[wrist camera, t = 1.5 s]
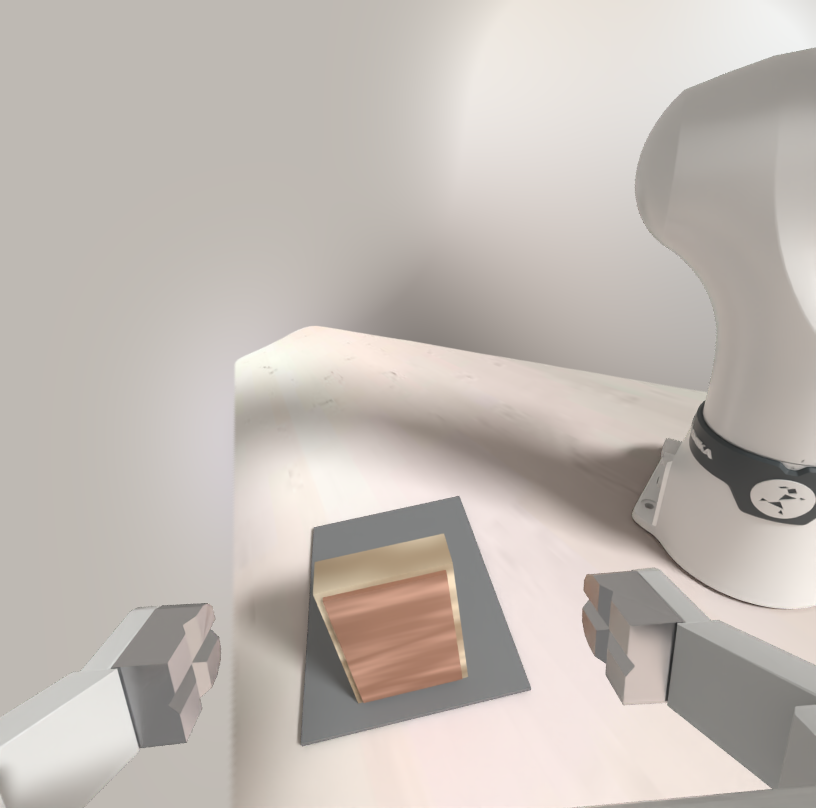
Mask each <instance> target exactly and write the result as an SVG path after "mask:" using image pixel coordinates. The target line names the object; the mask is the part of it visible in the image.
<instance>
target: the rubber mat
mask: <svg viewBox="0 0 816 808" xmlns="http://www.w3.org/2000/svg"><path fill="white" fill-rule="evenodd" d="M439 534H444V535H445V539H446V542H447V545H448V549H449V552H450V556H451V559H452V562H453V569H454V576H455V584H456V591H457V598H458V606H459V613H460V621H461V628H462V635H463V643H464V650H465V657H466V665H467V672H468V677H466V678H463V679H461V680H457V681H453V682H449V683H445V684H441V685H436V686H432V687H428V688H424V689H420V690H416V691H412V692H407V693H403V694H399V695H395V696H391V697H387V698H383V699H379V700H374V701H370V702H366V703H359V704H358V701H357V699H356V697H355V694H354V692H353V689H352V687H351V685H350V682H349V680H348V677H347V675H346V673H345V670H344V668H343V665H342V663H341V661H340V658H339V656H338V653H337V651H336V649H335V646H334V644H333V641H332V639H331V637H330V634H329V632H328V629H327V627H326V625H325V622H324V620H323V617H322V615H321V613H320V610H319V608H318V605H317V603H316V601H315V598H314V596H313V584H314V565H315V562H317V561H322V560H326V559H331V558H335V557H340V556H344V555H349V554H353V553H358V552H362V551H367V550H371V549H376V548H380V547H385V546H389V545H394V544H398V543H403V542H408V541H412V540H417V539H421V538H426V537H430V536H435V535H439ZM529 690H531V687H530V684H529V681H528V679H527V676H526V673H525V671H524V668H523V665H522V662H521V660H520V657H519V654H518V652H517V649H516V646H515V644H514V641H513V638H512V636H511V633H510V630H509V628H508V625H507V622H506V620H505V617H504V614H503V612H502V609H501V606H500V604H499V601H498V598H497V596H496V593H495V590H494V588H493V585H492V582H491V580H490V577H489V574H488V572H487V569H486V566H485V564H484V561H483V558H482V556H481V553H480V550H479V547H478V545H477V542H476V539H475V537H474V534H473V531H472V529H471V526H470V523H469V521H468V518H467V515H466V513H465V510H464V507H463V505H462V502H461V499H460V497H459V496H456V497H452V498H447V499H443V500H438V501H433V502H429V503H424V504H420V505H415V506H410V507H406V508H401V509H396V510H392V511H387V512H383V513H378V514H373V515H369V516H364V517H360V518H355V519H350V520H346V521H341V522H337V523H332V524H327V525H323V526H318V527H314V535H313V551H312V568H311V584H310V601H309V617H308V634H307V650H306V667H305V683H304V700H303V716H302V733H301V745H302V746H305V745H309V744H313V743H317V742H321V741H325V740H329V739H333V738H338V737H342V736H346V735H350V734H354V733H358V732H362V731H366V730H370V729H374V728H378V727H382V726H386V725H390V724H395V723H399V722H403V721H407V720H411V719H415V718H419V717H423V716H427V715H431V714H435V713H439V712H443V711H447V710H452V709H456V708H460V707H464V706H468V705H472V704H476V703H480V702H484V701H488V700H492V699H496V698H500V697H504V696H509V695H513V694H517V693H521V692H525V691H529Z"/></svg>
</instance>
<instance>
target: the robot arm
mask: <svg viewBox="0 0 816 808" xmlns="http://www.w3.org/2000/svg"><path fill="white" fill-rule="evenodd" d="M635 196H636V202H637V207H638V210H639V214H640V216H641V218H642V220H643V223H644V224H645V226H646V227H647V229H648V231H649V232H650V233H651V234H652V235H653V237H654V238H656V239H657V240H658V241H659V242H660V243H661V244H662V245H664V246H665V247H667V248H668V249H670V250H671V251H673V252H674V253H675V254H676V255H678V256H679V257H680V258H681V259H682V260H684V262H685V263H686V264H687V265H688V266H689V267H690V268H691V269H692V270H693V271H694V273H695V274H696V275H697V276H698V278H699V279H700V281H701V282H702V284H703V286H704V288H705V289H706V292H707V294H708V296H709V299H710V301H711V304H712V307H713V311H714V315H715V321H716V334H717V335H716V345H715V355H714V361H713V368H712V373H711V378H710V383H709V388H708V392H707V396H706V400H705V401H704V402H703V403H702V404H701V405H700V406H699V408H698V411H697V413H696V414H695V416H694V418H693V422H692V425H691V428H690V430H689V431H688V433H687V435H686V436H685V438H684V440H683V442H682V441H681V442H680V441H677V440H674V439H670V438H668V439H667V438H666V440H665V442H664V445H663V448H662V452H661V457H662V458H661V460H660V462H659V463H658V465H657V467H656V469H655V471H654V472H653V474H652V476H651V478H650V480H649V482H648V483H647V485H646V487H645V489H644V491H643V492H642V494H641V496H640V498H639V500H638V502H637V503H636V505H635V507H634V510H633V513H632V517H633V519H634V520H635V522H636V523H638V524H639V525H640V526H641V527H643V528H644V529H645V530H647V531H648V532H650V533H651V534H652V535H654V536H655V537H656V538H657V539H658V540H659V542H660V543H661V544H662V546H663V547H664V548H665V550H666V551H667V553H668V554H669V555H670V556H671V557H672V558H673V559H674V560H675V561H676V562H677V563H678V564H679V565H680V566H681V567H682V568H683V569H684V570H686V571H687V572H688V573H689V574H691V575H692V576H694V577H695V578H696V579H698V580H700V581H701V582H703V583H704V584H706V585H708V586H710V587H711V588H713V589H715V590H717V591H719V592H722V593H724V594H726V595H728V596H731V597H734V598H736V599H739V600H742V601H745V602H749V603H752V604H756V605H760V606H766V607H772V608H781V609H800V608H807V607H812V606H816V48H811V49H806V50H801V51H796V52H791V53H786V54H781V55H776V56H772V57H770V58H767V59H764V60H761V61H759V62H756V63H753V64H750V65H747V66H745V67H742V68H739V69H736V70H734V71H731V72H728V73H725V74H723V75H720V76H718V77H716V78H713V79H711V80H708V81H706V82H703V83H701V84H698V85H696V86H693V87H691V88H688V89H686V90H684V91H683V92H682V93H681V94H680V95H679V96H678V97H677V98H676V99H675V100H674V101H673V102H672V103H671V104H670V105H669V107H668V108H667V109H666V110H665V111H664V113H663V114H662V115H661V117H660V118H659V120H658V121H657V122H656V124H655V126H654V127H653V129H652V131H651V132H650V134H649V136H648V138H647V140H646V142H645V144H644V147H643V150H642V153H641V155H640V159H639V162H638V166H637V172H636V179H635ZM648 508H650V509H648ZM584 592H585V594H586V595H587V597H588V598H589V601H588V602H587V603H586V604H585V606H584V607H583V608H582V623H583V628H584V633H585V637H586V639H587V642H588V644H589V647H590V648H591V650H592V652H593V654H594V656H595V657H597V658H598V659H600V660H601V661H603V662H604V663H606V677H607V678H608V680H609V682H610V683H611V685H612V687H613V688H614V690H615V692H616V694H617V695H618V697H619V699H620V700H621V702H622V704H623V705H635V704H654V703H667V705H668V706H669V707H670V708H671V709H673V710H674V711H675V712H676V713H678V714H679V715H680V716H681V717H683V718H684V719H685V720H686V721H688V722H689V723H690V724H691V725H693V726H694V727H695V728H697V729H698V730H699V731H700V732H702V733H703V734H704V735H705V736H707V737H708V738H709V739H710V740H712V741H713V742H714V743H715V744H717V745H718V746H719V747H720V748H722V749H723V750H724V751H725V752H727V753H728V754H729V755H730V756H732V757H733V758H734V759H735V760H737V761H738V762H739V763H741V764H742V765H743V766H744V767H746V768H747V769H748V770H749V771H751V772H752V773H753V774H754V775H756V776H757V777H758V778H759V779H761V780H762V781H763V782H764V783H766V784H767V785H768V786H769V787H771V788H772V789H767V790H757V791H746V792H735V793H724V794H713V795H703V796H692V797H681V798H670V799H659V800H648V801H638V802H627V803H616V804H606V805H595V806H584V807H574V808H816V665H814V664H812V663H810V662H807V661H805V660H803V659H801V658H799V657H797V656H795V655H793V654H790V653H788V652H786V651H784V650H782V649H780V648H778V647H775V646H773V645H771V644H769V643H767V642H765V641H763V640H760V639H758V638H756V637H754V636H752V635H750V634H748V633H745V632H743V631H741V630H739V629H737V628H735V627H733V626H731V625H728V624H726V623H724V622H722V621H720V620H713V621H711V620H710V619H709V618H708V617H707V616H706V615H705V614H704V613H703V612H702V611H701V610H700V609H699V608H698V607H697V606H696V605H695V604H694V603H693V602H692V601H691V600H690V599H689V598H688V597H687V596H686V595H685V594H684V593H683V592H682V591H681V590H680V589H679V588H678V587H677V586H676V585H675V584H674V583H673V582H672V581H671V580H670V579H669V578H668V577H667V576H666V575H665V574H664V573H663V572H662V571H661V570H659V569H656V568H646V569H636V570H631V571H623V572H611V573H598V574H587V575H586V577H585V580H584ZM214 621H215V615H214V611H213V607H212V606H211V605H210V604H208V603H201V604H183V605H165V606H151V607H138V608H136V609H134V610H131V611H130V612H129V614H128V615H127V616H126V617H125V618H124V619H123V621H122V622H121V623H120V624H119V625H118V627H117V628H116V629H115V630H114V631H113V633H112V634H111V635H110V636H109V637H108V639H107V640H106V641H105V642H104V643H103V645H102V646H101V647H100V648H99V649H98V651H97V652H96V653H95V654H94V655H93V657H92V658H91V659H90V660H89V662H88V663H87V664H86V665H85V666H84V667H83V669H82V670H81V671H80V672H72V673H70V674H69V675H67V676H65V677H63V678H62V679H61V680H59V681H57V682H55V683H54V684H52V685H51V686H49V687H47V688H46V689H44V690H43V691H41V692H40V693H38V694H36V695H35V696H33V697H31V698H30V699H28V700H27V701H25V702H24V703H22V704H20V705H19V706H17V707H15V708H14V709H12V710H11V711H9V712H8V713H6V714H4V715H3V716H1V717H0V808H84V807H85V806H86V805H87V804H88V803H89V802H90V800H92V799H93V798H94V797H95V796H96V795H97V794H98V793H99V792H100V791H101V790H102V789H103V788H104V787H105V785H106V784H108V783H109V782H110V781H111V780H112V779H113V777H114V776H116V775H117V774H118V773H119V772H120V771H121V770H122V768H123V767H124V766H126V765H127V763H128V762H129V761H130V760H131V759H132V758H133V757H134V756H135V755H136V754H137V753H138V752H139V751H140V750H139V748H146V747H154V746H163V745H172V744H180V743H187V741H188V738H189V736H190V734H191V732H192V730H193V727H194V726H195V723H196V721H197V719H198V717H199V715H200V713H201V710H202V706H201V700H200V698H201V697H202V696H203V695H204V694H205V693H206V692H207V691H209V690H210V689H211V688H212V686H213V684H214V681H215V679H216V677H217V674H218V669H219V665H220V660H221V645H220V640H219V636H217V635H216V634H215V633H214V632H213V631H212V630H211V627H212V625H213V623H214Z"/></svg>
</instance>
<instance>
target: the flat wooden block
mask: <svg viewBox="0 0 816 808" xmlns="http://www.w3.org/2000/svg"><path fill="white" fill-rule="evenodd" d="M313 596H314V598H315V601H316V603H317V605H318V608H319V610H320V613H321V615H322V617H323V620H324V622H325V625H326V627H327V629H328V632H329V634H330V637H331V639H332V641H333V644H334V646H335V649H336V651H337V653H338V656H339V658H340V661H341V663H342V665H343V668H344V670H345V673H346V675H347V677H348V680H349V682H350V685H351V687H352V689H353V692H354V694H355V697H356V699H357V701H358V704H359V703H366V702H370V701H374V700H379V699H383V698H387V697H391V696H395V695H399V694H403V693H407V692H412V691H416V690H420V689H424V688H428V687H432V686H436V685H441V684H445V683H449V682H453V681H457V680H461V679H463V678H466V677H468V672H467V665H466V657H465V650H464V643H463V635H462V628H461V621H460V613H459V606H458V598H457V591H456V584H455V576H454V569H453V562H452V559H451V556H450V552H449V549H448V545H447V542H446V539H445V535H444V534H439V535H435V536H430V537H426V538H421V539H417V540H412V541H408V542H403V543H398V544H394V545H389V546H385V547H380V548H376V549H371V550H367V551H362V552H358V553H353V554H349V555H344V556H340V557H335V558H331V559H326V560H322V561H317V562H315V565H314V584H313Z"/></svg>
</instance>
